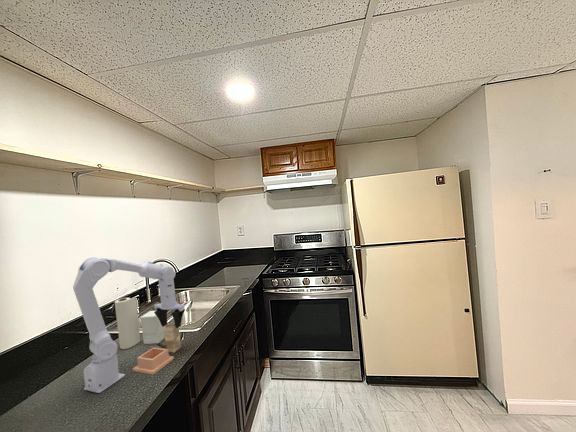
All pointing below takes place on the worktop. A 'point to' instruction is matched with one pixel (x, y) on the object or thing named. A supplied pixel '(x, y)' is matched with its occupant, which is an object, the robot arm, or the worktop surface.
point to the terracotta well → (153, 361)
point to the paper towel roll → (127, 322)
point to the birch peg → (172, 338)
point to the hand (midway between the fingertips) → (171, 326)
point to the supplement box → (152, 328)
